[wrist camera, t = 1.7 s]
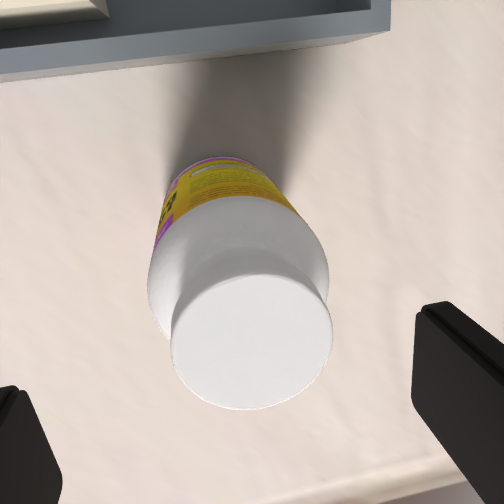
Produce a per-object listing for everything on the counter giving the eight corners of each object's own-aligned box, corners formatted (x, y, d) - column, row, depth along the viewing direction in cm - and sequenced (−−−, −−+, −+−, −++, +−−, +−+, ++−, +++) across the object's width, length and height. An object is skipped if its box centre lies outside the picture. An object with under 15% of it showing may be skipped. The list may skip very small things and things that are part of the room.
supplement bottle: (161, 151, 21) (125, 231, 9) (283, 156, 22) (388, 234, 10) (164, 266, 24) (138, 443, 12) (273, 266, 25) (349, 429, 13)
